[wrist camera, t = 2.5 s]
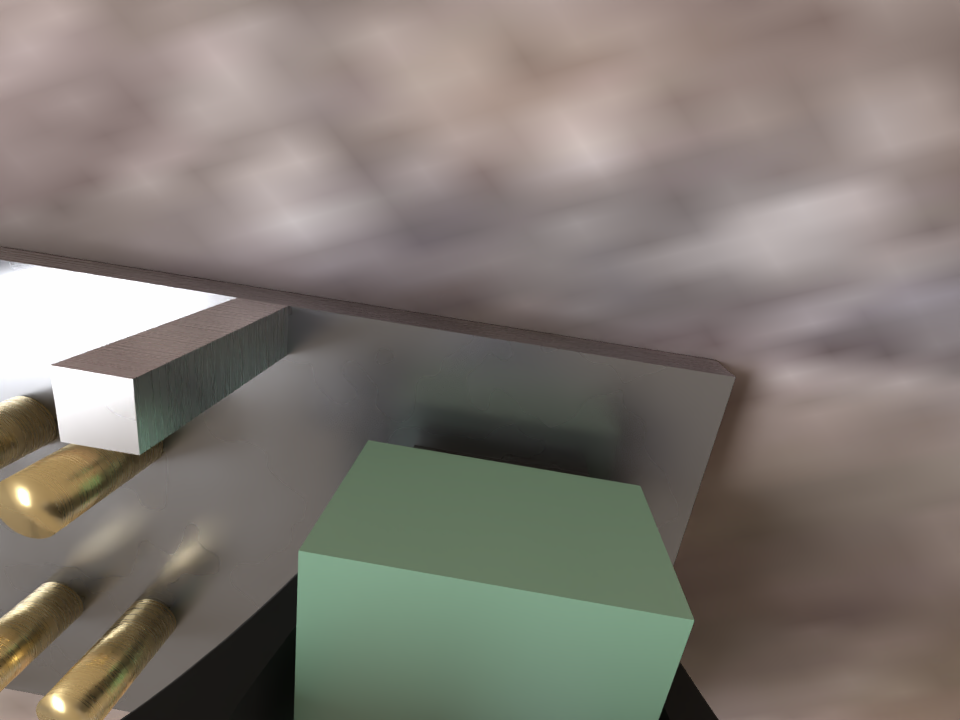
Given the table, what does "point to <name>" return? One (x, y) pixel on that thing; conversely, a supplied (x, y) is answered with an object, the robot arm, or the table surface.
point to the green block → (484, 595)
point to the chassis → (263, 449)
